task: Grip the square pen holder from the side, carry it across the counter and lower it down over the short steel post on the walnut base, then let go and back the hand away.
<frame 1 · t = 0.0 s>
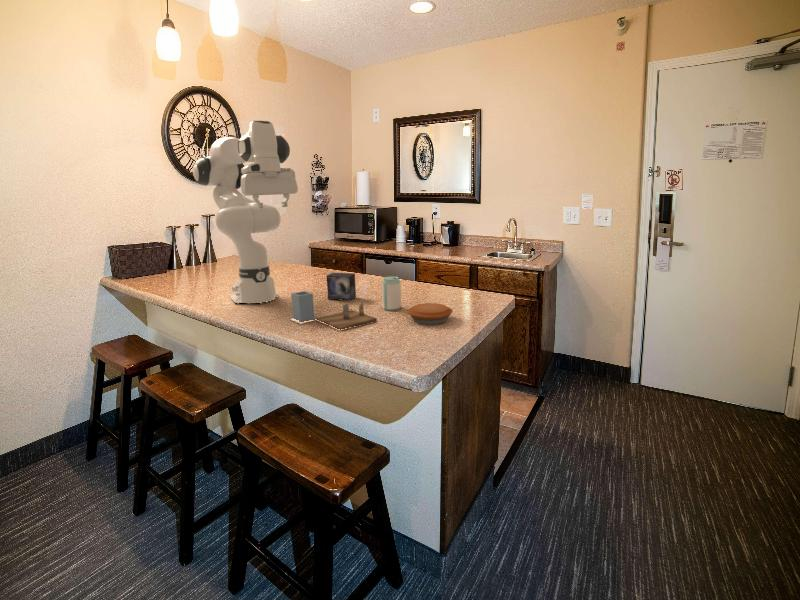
hand: (272, 207, 163), 39 cm above the countertop, tool pointing down, fingers open, 8 cm apart
pie: (430, 320, 157), on the countertop
square pen holder: (304, 320, 160), on the countertop
post base: (346, 321, 157), on the countertop
can: (391, 309, 172), on the countertop
small box: (341, 299, 189), on the countertop
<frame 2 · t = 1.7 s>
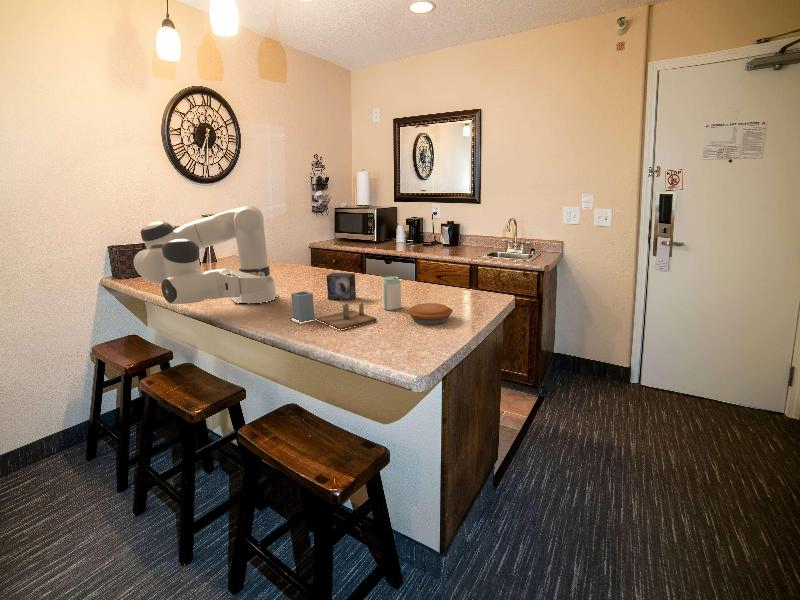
hand: (264, 276, 146), 18 cm above the countertop, tool horizontal, fingers open, 8 cm apart
nothing on the countertop moved.
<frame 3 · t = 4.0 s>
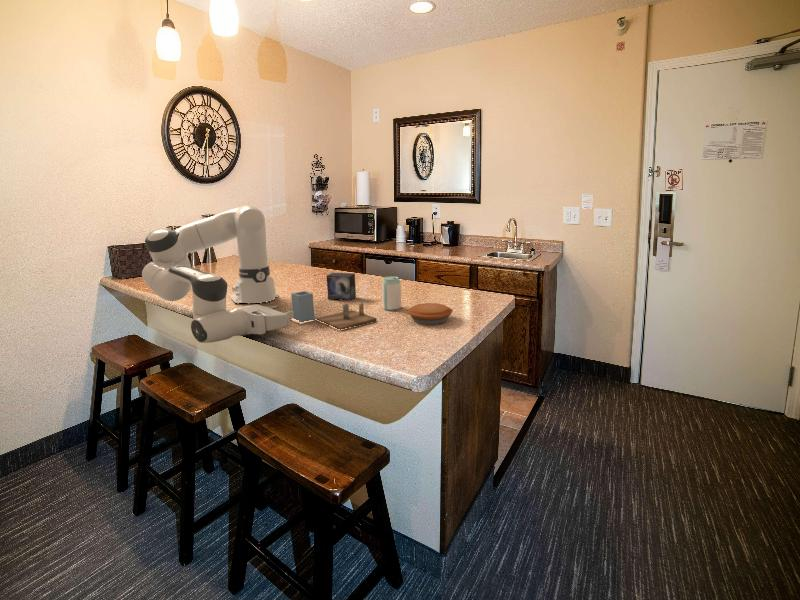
hand: (285, 310, 153), 5 cm above the countertop, tool horizontal, fingers open, 8 cm apart
nothing on the countertop moved.
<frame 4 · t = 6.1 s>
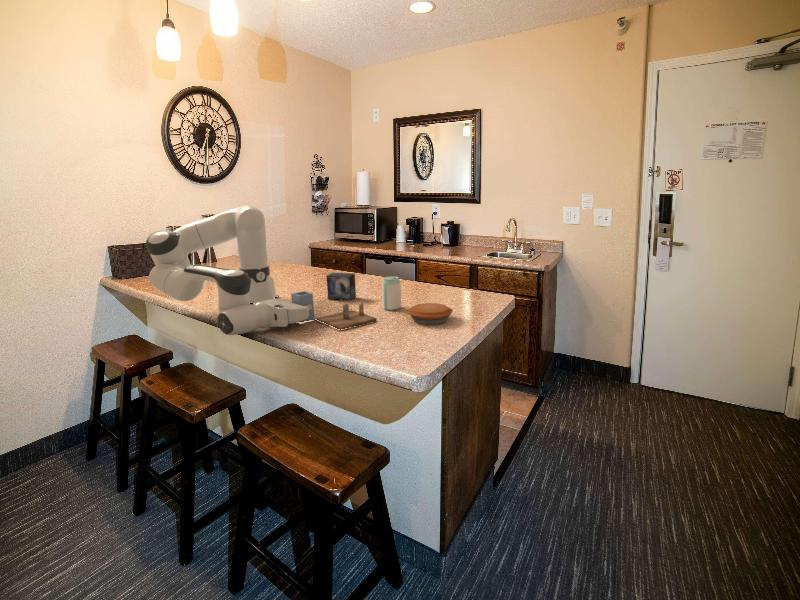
hand: (305, 304, 159), 6 cm above the countertop, tool horizontal, fingers closed on square pen holder, 6 cm apart
square pen holder: (304, 320, 160), on the countertop, touching gripper
everything else where it was.
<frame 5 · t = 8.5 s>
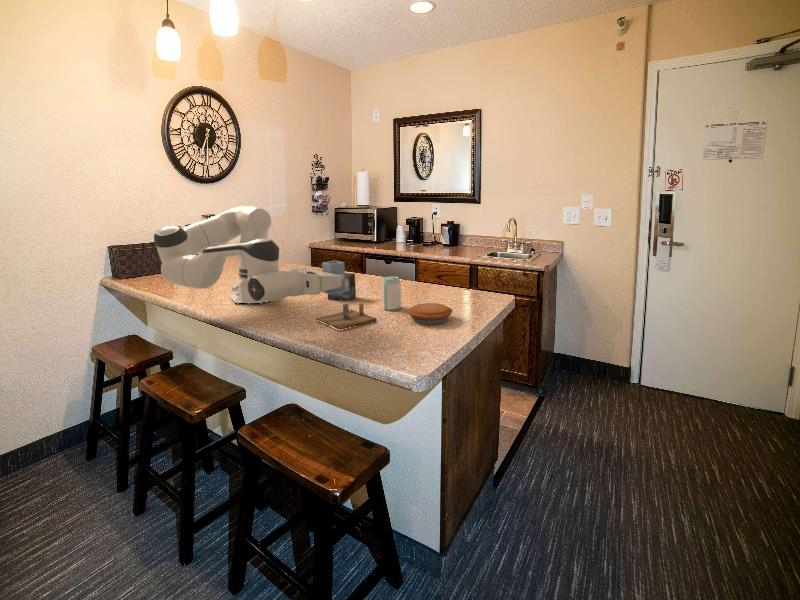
hand: (336, 274, 152), 17 cm above the countertop, tool horizontal, fingers closed on square pen holder, 6 cm apart
square pen holder: (334, 291, 153), point 11 cm above the countertop, touching gripper
everything else where it was.
when the fingers open (8 cm above the countertop, at t = 11.4 s): square pen holder stays where it is, resting on post base.
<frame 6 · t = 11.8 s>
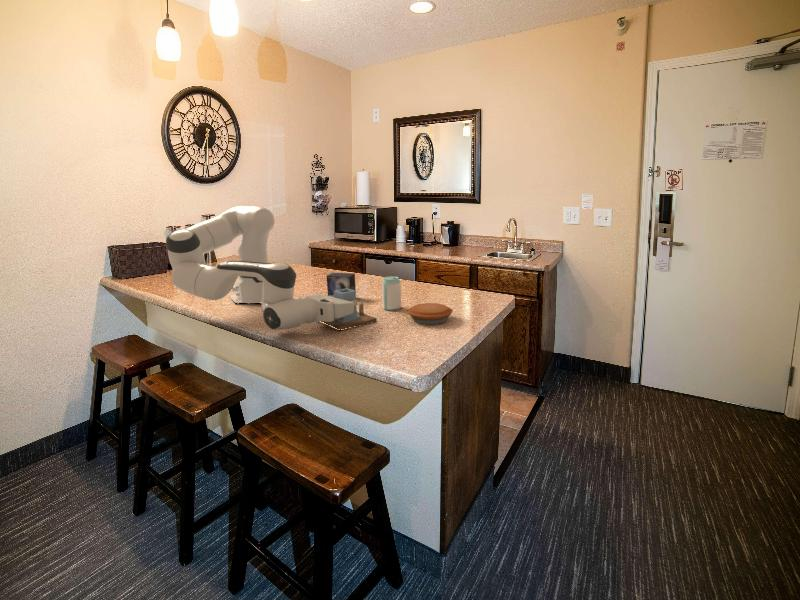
hand: (347, 299, 156), 8 cm above the countertop, tool horizontal, fingers open, 8 cm apart
square pen holder: (346, 318, 157), point 1 cm above the countertop, touching post base
everything else where it was.
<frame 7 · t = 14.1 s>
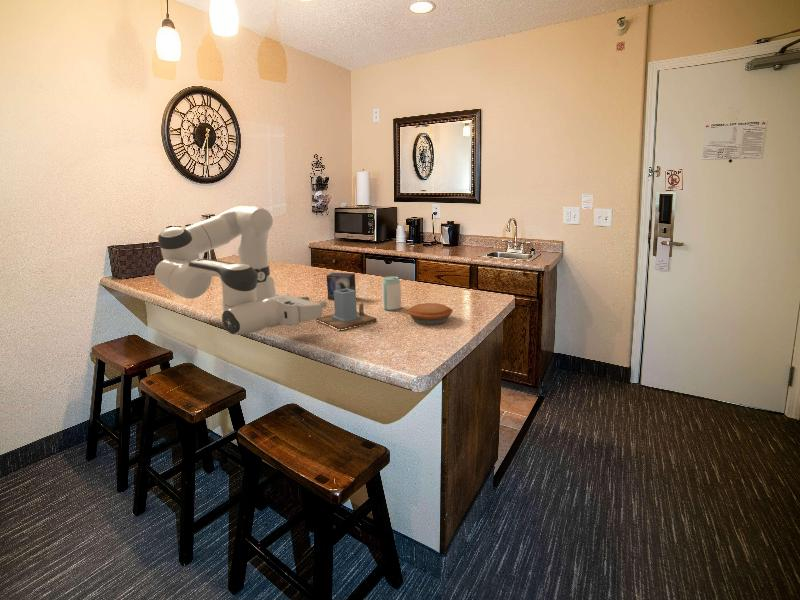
hand: (316, 301, 146), 10 cm above the countertop, tool horizontal, fingers open, 8 cm apart
nothing on the countertop moved.
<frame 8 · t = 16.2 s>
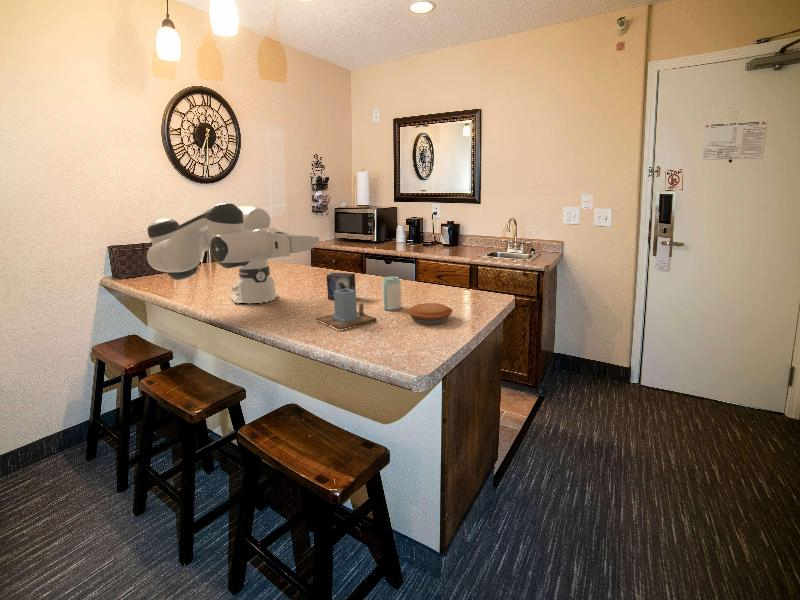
hand: (309, 238, 142), 30 cm above the countertop, tool horizontal, fingers open, 8 cm apart
nothing on the countertop moved.
at the end: square pen holder 0.1 cm off-centre on the post base, point 1.2 cm above the post base's base; square pen holder tilted 0°; the gripper is holding nothing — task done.
